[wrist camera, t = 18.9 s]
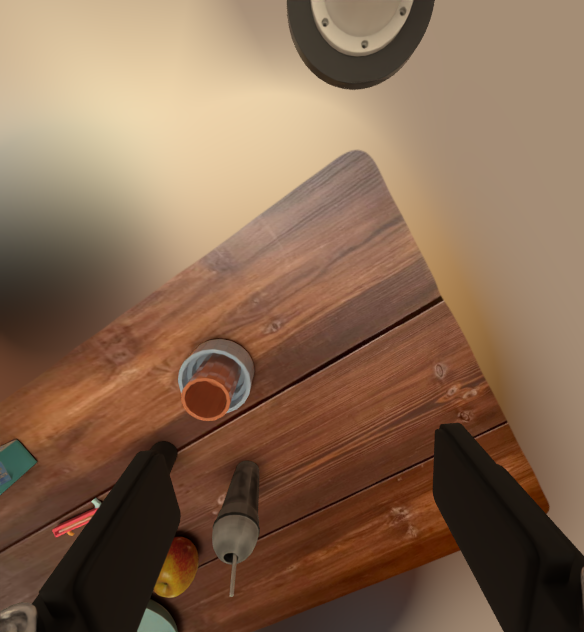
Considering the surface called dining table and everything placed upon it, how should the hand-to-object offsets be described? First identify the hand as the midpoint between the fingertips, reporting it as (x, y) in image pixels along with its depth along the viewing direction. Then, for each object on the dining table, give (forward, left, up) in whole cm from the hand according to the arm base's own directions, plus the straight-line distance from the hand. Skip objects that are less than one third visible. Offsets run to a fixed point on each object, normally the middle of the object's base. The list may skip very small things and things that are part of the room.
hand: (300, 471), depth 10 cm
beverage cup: (+35, -13, -36) cm, 52 cm away
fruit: (+53, -30, -36) cm, 71 cm away
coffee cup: (+13, -14, -36) cm, 40 cm away
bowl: (+13, -14, -36) cm, 41 cm away
